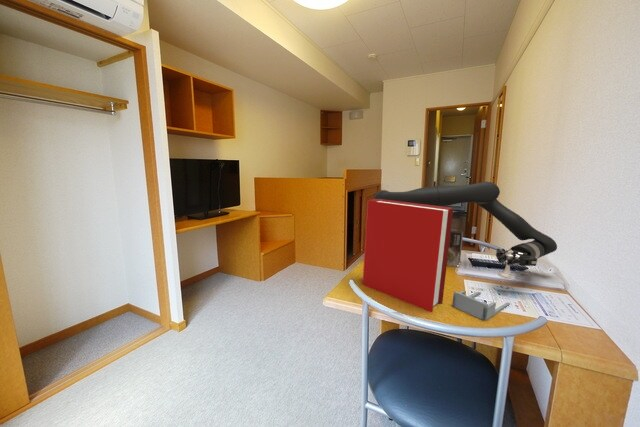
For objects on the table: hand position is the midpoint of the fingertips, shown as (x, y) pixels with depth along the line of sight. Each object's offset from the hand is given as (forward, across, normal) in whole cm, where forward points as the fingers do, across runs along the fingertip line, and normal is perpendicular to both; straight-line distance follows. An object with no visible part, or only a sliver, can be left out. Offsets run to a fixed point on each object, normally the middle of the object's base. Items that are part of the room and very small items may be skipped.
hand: (504, 261), depth 94 cm
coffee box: (-15, -28, +13) cm, 34 cm away
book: (+30, -20, +14) cm, 38 cm away
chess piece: (-4, 0, +7) cm, 8 cm away
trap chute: (+13, 0, +13) cm, 18 cm away
